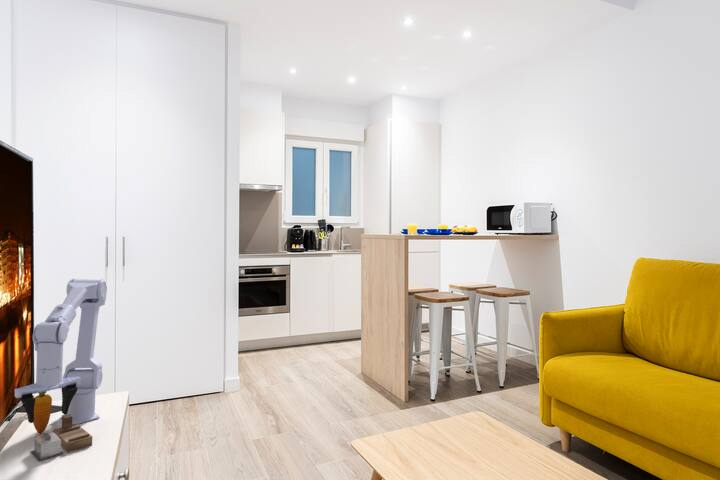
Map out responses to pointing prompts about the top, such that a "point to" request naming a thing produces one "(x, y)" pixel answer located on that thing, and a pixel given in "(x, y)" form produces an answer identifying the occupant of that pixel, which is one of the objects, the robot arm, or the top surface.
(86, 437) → the body
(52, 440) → the lever cap
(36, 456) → the rubber mat
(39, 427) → the carrot
